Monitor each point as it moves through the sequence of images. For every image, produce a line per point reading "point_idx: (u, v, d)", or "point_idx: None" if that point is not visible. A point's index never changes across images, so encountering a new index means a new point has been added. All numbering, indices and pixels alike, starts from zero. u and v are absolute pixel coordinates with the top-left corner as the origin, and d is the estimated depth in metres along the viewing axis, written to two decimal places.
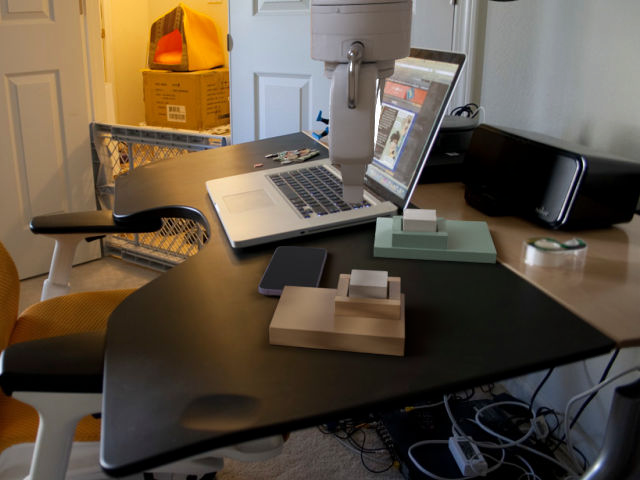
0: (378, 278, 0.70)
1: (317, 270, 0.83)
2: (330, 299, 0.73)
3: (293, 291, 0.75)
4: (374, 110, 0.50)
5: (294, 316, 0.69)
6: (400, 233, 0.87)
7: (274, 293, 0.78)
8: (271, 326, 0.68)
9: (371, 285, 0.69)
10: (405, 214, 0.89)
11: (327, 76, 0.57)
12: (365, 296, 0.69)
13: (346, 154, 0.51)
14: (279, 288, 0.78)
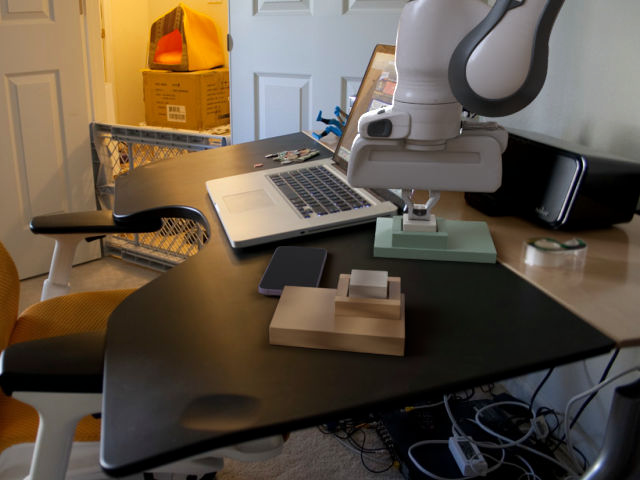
0: (378, 278, 0.70)
1: (317, 270, 0.83)
2: (330, 299, 0.73)
3: (293, 291, 0.75)
4: None
5: (294, 316, 0.69)
6: (400, 233, 0.87)
7: (274, 293, 0.78)
8: (271, 326, 0.68)
9: (371, 285, 0.69)
10: (404, 219, 0.89)
11: (436, 149, 0.82)
12: (365, 296, 0.69)
13: None
14: (279, 288, 0.78)
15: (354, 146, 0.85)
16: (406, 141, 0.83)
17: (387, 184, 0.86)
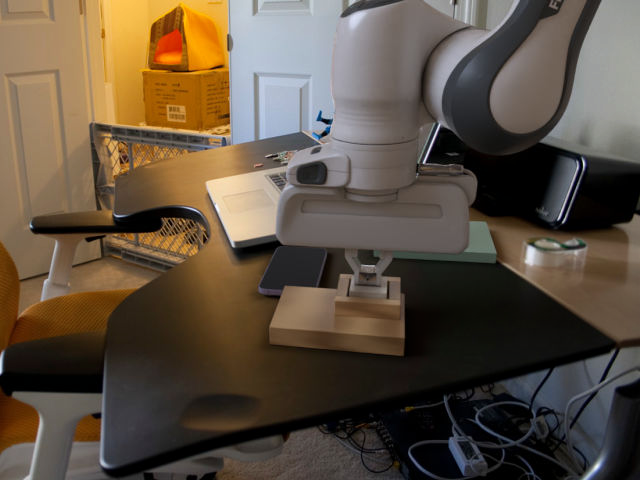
0: None
1: (317, 270, 0.83)
2: (330, 299, 0.73)
3: (293, 291, 0.75)
4: None
5: (294, 316, 0.69)
6: None
7: (274, 293, 0.78)
8: (271, 326, 0.68)
9: (370, 291, 0.69)
10: None
11: (385, 201, 0.64)
12: None
13: None
14: (279, 288, 0.78)
15: (282, 194, 0.67)
16: (347, 189, 0.65)
17: (325, 242, 0.68)
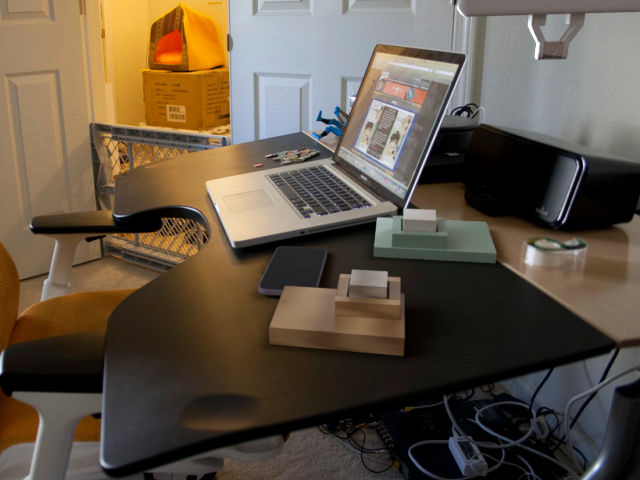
0: (378, 278, 0.70)
1: (317, 270, 0.83)
2: (330, 299, 0.73)
3: (293, 291, 0.75)
4: None
5: (294, 316, 0.69)
6: (400, 233, 0.87)
7: (274, 293, 0.78)
8: (271, 326, 0.68)
9: (371, 285, 0.69)
10: (405, 214, 0.89)
11: None
12: (365, 296, 0.69)
13: None
14: (279, 288, 0.78)
15: None
16: None
17: (514, 7, 0.66)
